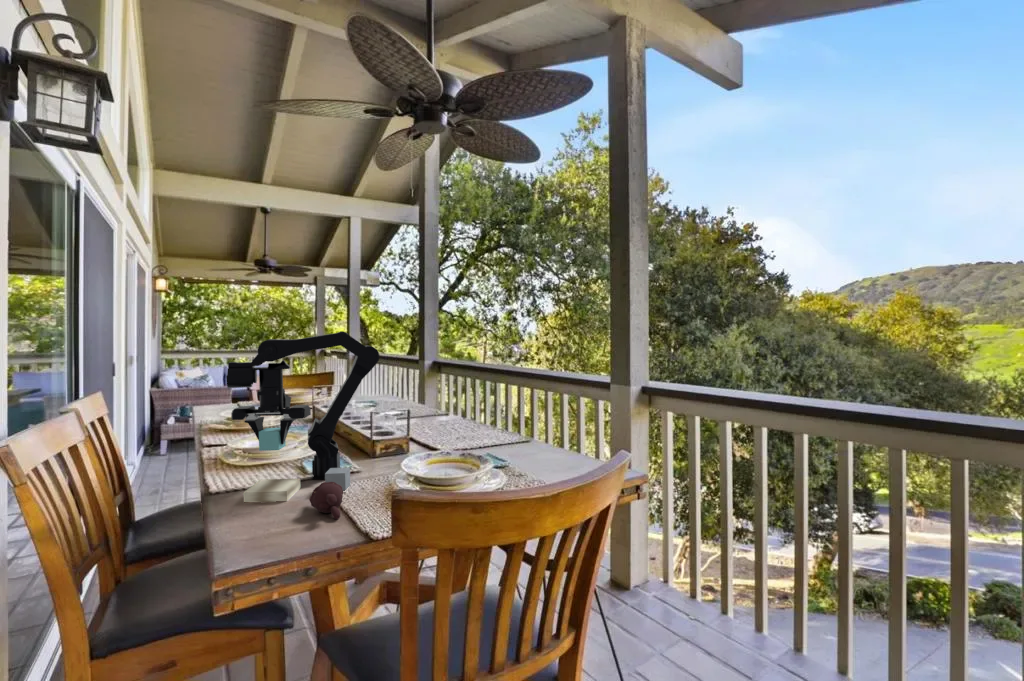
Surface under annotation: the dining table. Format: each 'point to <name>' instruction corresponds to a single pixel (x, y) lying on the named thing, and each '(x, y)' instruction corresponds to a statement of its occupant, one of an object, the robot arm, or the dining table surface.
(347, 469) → the light grey cube
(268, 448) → the teal cube
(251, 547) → the dining table surface
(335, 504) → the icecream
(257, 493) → the birch block
